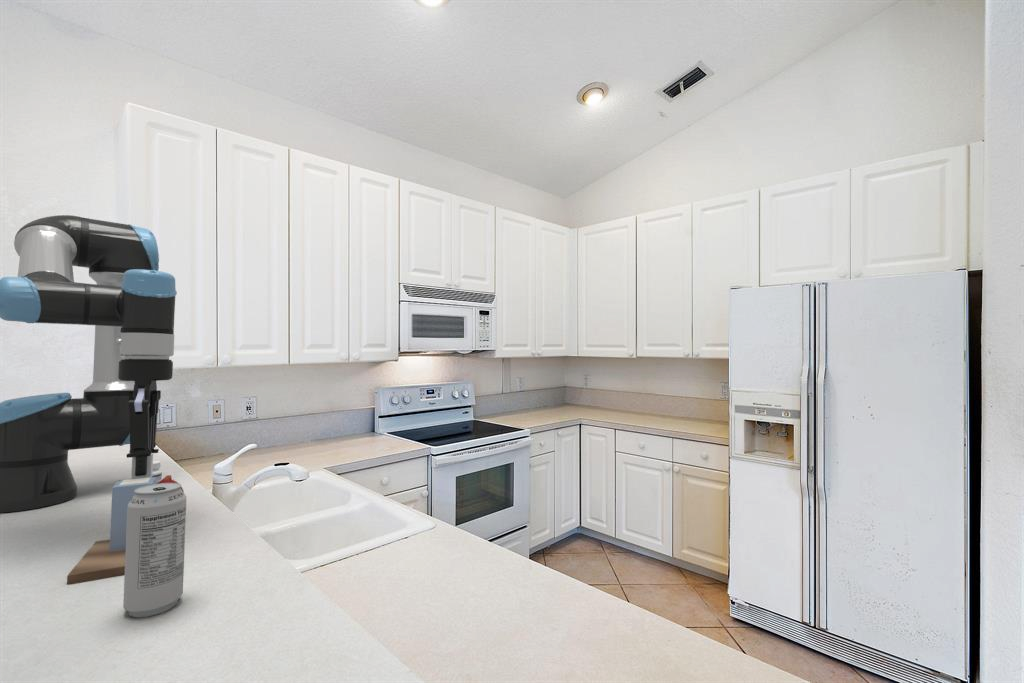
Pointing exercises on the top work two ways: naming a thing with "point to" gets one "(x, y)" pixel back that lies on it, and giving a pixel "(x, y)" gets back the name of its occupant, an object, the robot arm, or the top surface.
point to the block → (123, 509)
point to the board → (98, 564)
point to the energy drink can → (154, 549)
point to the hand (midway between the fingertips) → (141, 493)
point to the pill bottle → (157, 471)
